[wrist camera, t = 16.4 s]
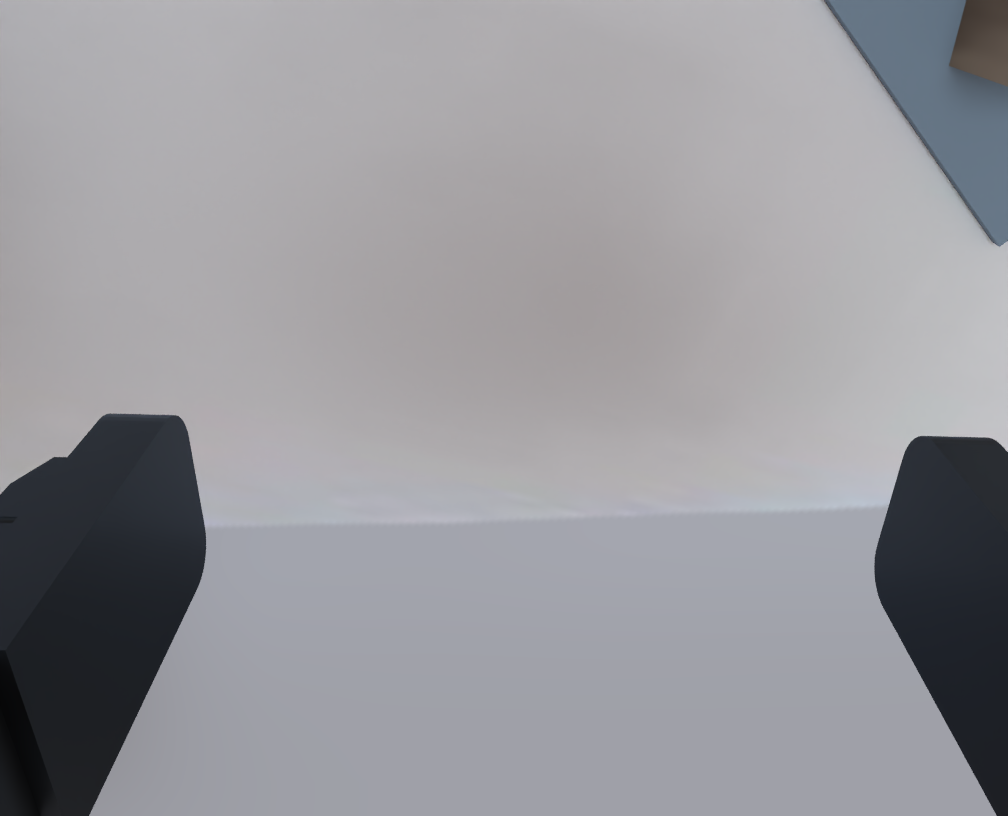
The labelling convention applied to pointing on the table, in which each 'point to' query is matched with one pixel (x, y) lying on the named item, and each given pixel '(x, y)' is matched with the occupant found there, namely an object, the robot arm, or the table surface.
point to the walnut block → (983, 40)
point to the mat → (939, 96)
